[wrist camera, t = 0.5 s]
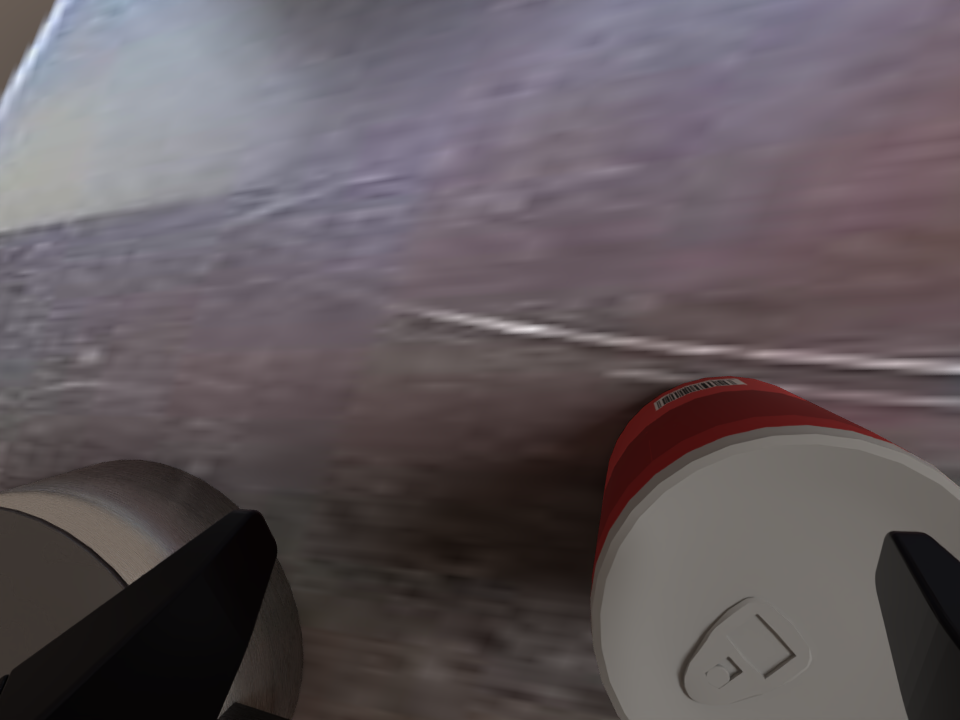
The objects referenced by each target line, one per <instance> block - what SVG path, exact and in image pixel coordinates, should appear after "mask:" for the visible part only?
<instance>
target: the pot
mask: <svg viewBox="0 0 960 720" xmlns="http://www.w3.org/2000/svg"><path fill="white" fill-rule="evenodd" d="M237 509H239V508H238V507H237V506H236V505H235V504H234V503H233V502H232V501H230V500H229V499H228V498H227V497H226V496H224V495H223V494H222V493H221V492H220V491H218V490H217V489H215V488H213V487H212V486H210V485H209V484H207V483H206V482H204V481H203V480H201V479H199V478H197V477H195V476H193V475H191V474H189V473H187V472H184V471H182V470H180V469H177V468H174V467H171V466H167V465H164V464H161V463H156V462H149V461H143V460H116V461H109V462H102V463H98V464H95V465H92V466H88V467H85V468H81V469H78V470H74V471H71V472H67V473H64V474H60V475H57V476H53V477H50V478H47V479H43V480H40V481H36V482H33V483H29V484H26V485H22V486H19V487H15V488H12V489H8V490H5V491H2V492H0V678H1V677H3V676H4V675H6V674H10V672H11V670H13V669H14V668H15V667H17V666H18V665H19V664H21V663H22V662H24V661H25V660H26V659H28V658H29V657H30V656H32V655H33V654H35V653H36V652H37V651H39V650H40V649H41V648H43V647H44V646H46V645H47V644H48V643H50V642H51V641H53V640H54V639H55V638H57V637H58V636H59V635H61V634H62V633H64V632H65V631H66V630H68V629H69V628H70V627H72V626H73V625H75V624H76V623H77V622H79V621H80V620H82V619H83V618H84V617H86V616H87V615H88V614H90V613H91V612H93V611H94V610H95V609H97V608H98V607H100V606H101V605H102V604H104V603H105V602H106V601H108V600H109V599H111V598H112V597H113V596H115V595H116V594H117V593H119V592H120V591H122V590H123V589H124V588H126V587H127V586H129V585H130V584H131V583H133V582H134V581H135V580H137V579H138V578H140V577H141V576H142V575H144V574H145V573H146V572H148V571H149V570H151V569H152V568H153V567H155V566H156V565H158V564H159V563H160V562H162V561H163V560H164V559H166V558H167V557H169V556H170V555H171V554H173V553H174V552H175V551H177V550H178V549H180V548H181V547H182V546H184V545H185V544H186V543H188V542H189V541H191V540H192V539H193V538H195V537H196V536H198V535H199V534H200V533H202V532H203V531H204V530H206V529H207V528H209V527H210V526H211V525H213V524H214V523H215V522H217V521H218V520H220V519H221V518H222V517H224V516H225V515H227V514H228V513H229V512H231V511H233V510H237ZM302 668H303V646H302V633H301V627H300V622H299V616H298V611H297V607H296V604H295V601H294V598H293V594H292V591H291V588H290V585H289V583H288V581H287V578H286V576H285V574H284V572H283V569H282V567H281V565H280V563H279V561H278V559H277V558H276V561H275V564H274V567H273V570H272V573H271V577H270V580H269V583H268V586H267V589H266V592H265V595H264V599H263V602H262V605H261V608H260V611H259V614H258V617H257V621H256V624H255V627H254V630H253V633H252V636H251V639H250V642H249V644H248V647H247V650H246V652H245V655H244V657H243V660H242V662H241V665H240V667H239V669H238V672H237V674H236V677H235V679H234V681H233V684H232V686H231V688H230V691H229V693H228V695H227V698H226V700H225V702H224V705H223V707H222V709H221V712H220V714H219V716H218V719H217V720H292V717H293V714H294V711H295V708H296V705H297V702H298V697H299V692H300V687H301V681H302Z"/></svg>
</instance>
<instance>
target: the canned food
mask: <svg viewBox="0 0 960 720" xmlns="http://www.w3.org/2000/svg"><path fill="white" fill-rule="evenodd" d="M890 531H917V532H923V533H926V534H928V535H930V536H931V537H932V538H933V539H935V540H936V541H937V542H938V543H939V544H940V545H942V546H943V547H944V548H945V549H946V550H947V551H949V552H950V553H951V554H952V555H953V556H954V557H955V558H957V559H958V560H959V561H960V487H959V486H957V485H956V484H955V483H954V482H953V481H951V480H950V479H949V478H948V477H947V476H945V475H944V474H943V473H942V472H940V471H939V470H938V469H937V468H936V467H934V466H933V465H932V464H930V463H928V462H926V461H924V460H922V459H921V458H919V457H917V456H915V455H913V454H911V453H910V452H908V451H906V450H905V449H903V448H901V447H899V446H897V445H895V444H893V443H892V442H890V441H888V440H886V439H884V438H882V437H880V436H879V435H877V434H875V433H873V432H871V431H869V430H867V429H865V428H863V427H861V426H859V425H856V424H854V423H852V422H850V421H848V420H846V419H844V418H842V417H840V416H838V415H836V414H834V413H832V412H829V411H827V410H825V409H823V408H821V407H819V406H817V405H815V404H813V403H811V402H809V401H807V400H805V399H802V398H800V397H798V396H796V395H794V394H792V393H790V392H788V391H786V390H784V389H782V388H780V387H777V386H775V385H772V384H768V383H765V382H762V381H759V380H756V379H750V378H741V377H733V376H725V377H711V378H703V379H700V380H696V381H692V382H688V383H684V384H681V385H679V386H677V387H675V388H673V389H671V390H668V391H666V392H664V393H662V394H661V395H659V396H658V397H656V398H655V399H654V400H652V401H651V402H649V403H648V404H647V405H645V406H644V407H643V408H642V409H641V410H640V411H639V412H638V413H637V414H636V415H635V416H634V417H633V418H632V419H631V420H630V421H629V423H628V424H627V426H626V427H625V429H624V430H623V432H622V434H621V435H620V437H619V438H618V440H617V442H616V444H615V447H614V450H613V452H612V455H611V457H610V460H609V465H608V471H607V477H606V483H605V490H604V497H603V504H602V511H601V518H600V524H599V531H598V538H597V545H596V552H595V559H594V566H593V573H592V588H591V595H590V608H591V633H592V637H593V648H594V652H595V656H596V660H597V664H598V668H599V672H600V676H601V680H602V683H603V685H604V687H605V689H606V691H607V694H608V696H609V698H610V700H611V702H612V704H613V706H614V708H615V711H616V713H617V715H618V716H619V717H620V719H621V720H908V717H907V714H906V711H905V707H904V703H903V700H902V696H901V692H900V688H899V684H898V680H897V675H896V671H895V667H894V663H893V659H892V655H891V651H890V646H889V642H888V638H887V634H886V630H885V626H884V621H883V617H882V613H881V609H880V605H879V601H878V596H877V592H876V586H875V572H876V568H877V564H878V560H879V556H880V552H881V548H882V545H883V541H884V538H885V535H886V534H887V533H888V532H890Z"/></svg>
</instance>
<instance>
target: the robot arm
mask: <svg viewBox="0 0 960 720" xmlns="http://www.w3.org/2000/svg"><path fill="white" fill-rule="evenodd" d="M276 557H277V545H276V542H275V539H274V537H273V535H272V533H271V531H270V529H269V527H268V525H267V523H266V521H265V519H264V517H263V516H262V514H261V513H260V512H259V511H257V510H245V509H237V510H233V511H231V512H229V513H228V514H227V515H225V516H224V517H222V518H221V519H220V520H218V521H217V522H215V523H214V524H213V525H211V526H210V527H209V528H207V529H206V530H204V531H203V532H202V533H200V534H199V535H198V536H196V537H195V538H193V539H192V540H191V541H189V542H188V543H186V544H185V545H184V546H182V547H181V548H180V549H178V550H177V551H175V552H174V553H173V554H171V555H170V556H169V557H167V558H166V559H164V560H163V561H162V562H160V563H159V564H158V565H156V566H155V567H153V568H152V569H151V570H149V571H148V572H146V573H145V574H144V575H142V576H141V577H140V578H138V579H137V580H135V581H134V582H133V583H131V584H130V585H129V586H127V587H126V588H124V589H123V590H122V591H120V592H119V593H117V594H116V595H115V596H113V597H112V598H111V599H109V600H108V601H106V602H105V603H104V604H102V605H101V606H100V607H98V608H97V609H95V610H94V611H93V612H91V613H90V614H88V615H87V616H86V617H84V618H83V619H82V620H80V621H79V622H77V623H76V624H75V625H73V626H72V627H70V628H69V629H68V630H66V631H65V632H64V633H62V634H61V635H59V636H58V637H57V638H55V639H54V640H53V641H51V642H50V643H48V644H47V645H46V646H44V647H43V648H41V649H40V650H39V651H37V652H36V653H35V654H33V655H32V656H30V657H29V658H28V659H26V660H25V661H24V662H22V663H21V664H19V665H18V666H17V667H15V668H14V669H13V670H11V672H10V674H6V675H4V676H3V677H1V678H0V720H217V719H218V716H219V714H220V712H221V709H222V707H223V705H224V702H225V700H226V698H227V695H228V693H229V691H230V688H231V686H232V684H233V681H234V679H235V677H236V674H237V672H238V669H239V667H240V665H241V662H242V660H243V657H244V655H245V652H246V650H247V647H248V644H249V642H250V639H251V636H252V633H253V630H254V627H255V624H256V621H257V617H258V614H259V611H260V608H261V605H262V602H263V599H264V595H265V592H266V589H267V586H268V583H269V580H270V577H271V573H272V570H273V567H274V564H275V561H276ZM875 586H876V592H877V596H878V601H879V605H880V609H881V613H882V617H883V621H884V626H885V630H886V634H887V638H888V642H889V646H890V651H891V655H892V659H893V663H894V667H895V671H896V675H897V680H898V684H899V688H900V692H901V696H902V700H903V703H904V707H905V711H906V714H907V717H908V720H960V561H959V560H958V559H957V558H955V557H954V556H953V555H952V554H951V553H950V552H949V551H947V550H946V549H945V548H944V547H943V546H942V545H940V544H939V543H938V542H937V541H936V540H935V539H933V538H932V537H931V536H930V535H928V534H926V533H923V532H917V531H890V532H888V533H887V534H886V535H885V538H884V541H883V545H882V548H881V552H880V556H879V560H878V564H877V568H876V572H875Z"/></svg>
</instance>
